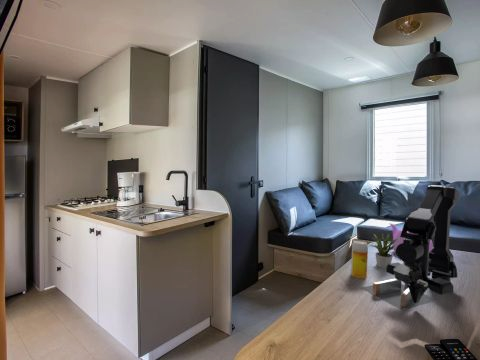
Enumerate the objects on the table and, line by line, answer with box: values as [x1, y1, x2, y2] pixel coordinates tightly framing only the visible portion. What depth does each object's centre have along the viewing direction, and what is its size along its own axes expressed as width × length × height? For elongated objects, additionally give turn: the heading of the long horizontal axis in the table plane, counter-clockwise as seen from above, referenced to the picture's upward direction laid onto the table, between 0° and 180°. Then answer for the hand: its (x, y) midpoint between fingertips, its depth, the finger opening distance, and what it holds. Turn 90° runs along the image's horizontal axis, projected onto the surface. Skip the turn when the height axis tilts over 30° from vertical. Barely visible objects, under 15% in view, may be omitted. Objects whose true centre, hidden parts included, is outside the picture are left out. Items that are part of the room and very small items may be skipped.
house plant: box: [368, 232, 402, 269], centre depth 127 cm, size 14×14×16 cm
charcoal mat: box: [360, 283, 438, 311], centre depth 101 cm, size 18×17×1 cm
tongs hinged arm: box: [400, 283, 413, 308], centre depth 99 cm, size 18×5×4 cm, turn 133°
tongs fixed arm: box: [372, 277, 402, 297], centre depth 102 cm, size 13×1×4 cm, turn 113°
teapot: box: [389, 223, 434, 253], centre depth 152 cm, size 23×21×15 cm
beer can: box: [350, 240, 369, 279], centre depth 117 cm, size 6×6×15 cm
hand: (415, 302), depth 91 cm, fingers closed
